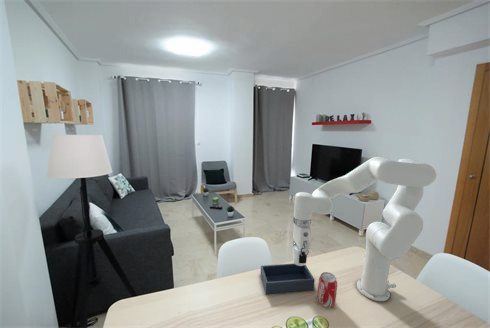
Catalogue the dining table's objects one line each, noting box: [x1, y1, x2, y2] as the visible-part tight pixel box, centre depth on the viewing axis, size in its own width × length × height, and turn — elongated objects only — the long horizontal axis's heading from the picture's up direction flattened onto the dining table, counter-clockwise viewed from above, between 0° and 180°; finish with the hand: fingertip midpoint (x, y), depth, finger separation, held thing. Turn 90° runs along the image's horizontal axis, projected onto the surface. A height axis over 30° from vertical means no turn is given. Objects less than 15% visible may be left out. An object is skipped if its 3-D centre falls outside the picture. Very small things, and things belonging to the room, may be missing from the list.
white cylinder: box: [292, 244, 307, 266], centre depth 100 cm, size 7×7×7 cm
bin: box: [260, 262, 315, 296], centre depth 101 cm, size 22×12×6 cm, turn 97°
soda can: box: [316, 271, 338, 309], centre depth 90 cm, size 7×7×12 cm
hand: (299, 257), depth 100 cm, fingers closed on white cylinder, 6 cm apart
